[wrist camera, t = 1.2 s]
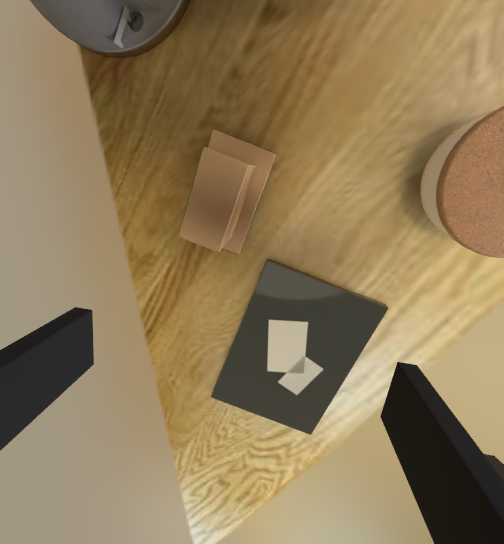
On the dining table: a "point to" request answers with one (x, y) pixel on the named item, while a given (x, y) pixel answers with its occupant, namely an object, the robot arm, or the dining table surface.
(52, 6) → the robot arm
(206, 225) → the wooden stepped block
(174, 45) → the dining table surface
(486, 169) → the trinket box
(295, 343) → the slate board
